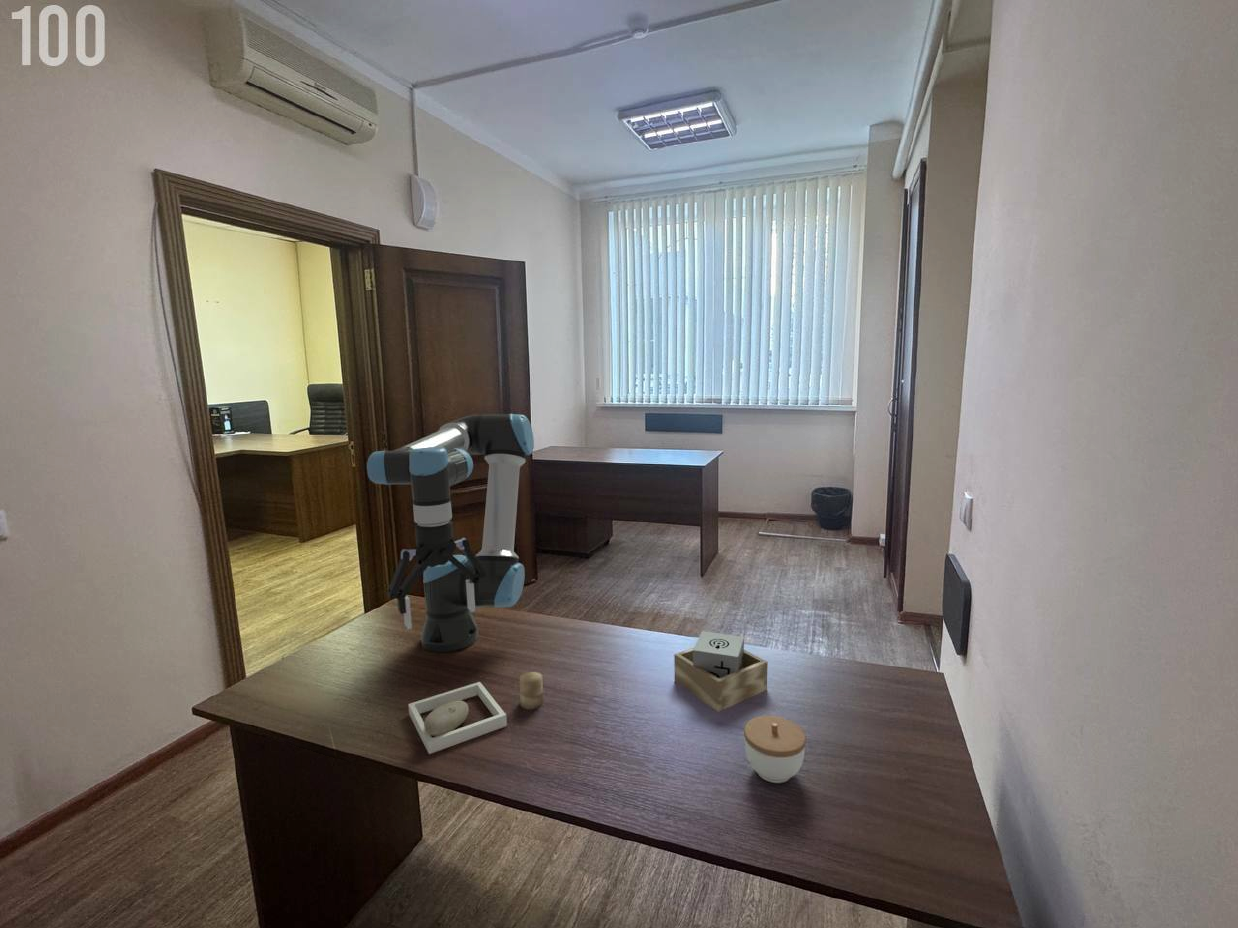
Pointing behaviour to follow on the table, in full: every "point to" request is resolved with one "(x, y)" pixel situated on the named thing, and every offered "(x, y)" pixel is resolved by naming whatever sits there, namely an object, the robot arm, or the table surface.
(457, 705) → the stone
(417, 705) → the white rectangular frame
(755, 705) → the table surface
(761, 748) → the lidded jar
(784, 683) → the table surface
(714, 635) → the icon cube
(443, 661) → the table surface
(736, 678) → the oak crate
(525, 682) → the short oak dowel
